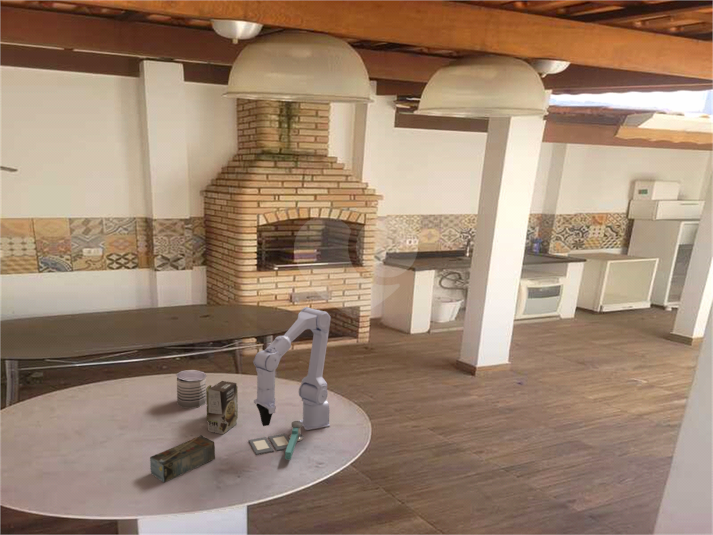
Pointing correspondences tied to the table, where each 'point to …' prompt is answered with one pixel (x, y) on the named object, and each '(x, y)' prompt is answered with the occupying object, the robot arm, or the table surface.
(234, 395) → the coffee box
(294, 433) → the bar
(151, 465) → the beverage carton
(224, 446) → the table surface
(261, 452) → the label tile
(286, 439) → the label tile
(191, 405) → the can
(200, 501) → the table surface
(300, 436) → the pivot post
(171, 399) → the table surface
